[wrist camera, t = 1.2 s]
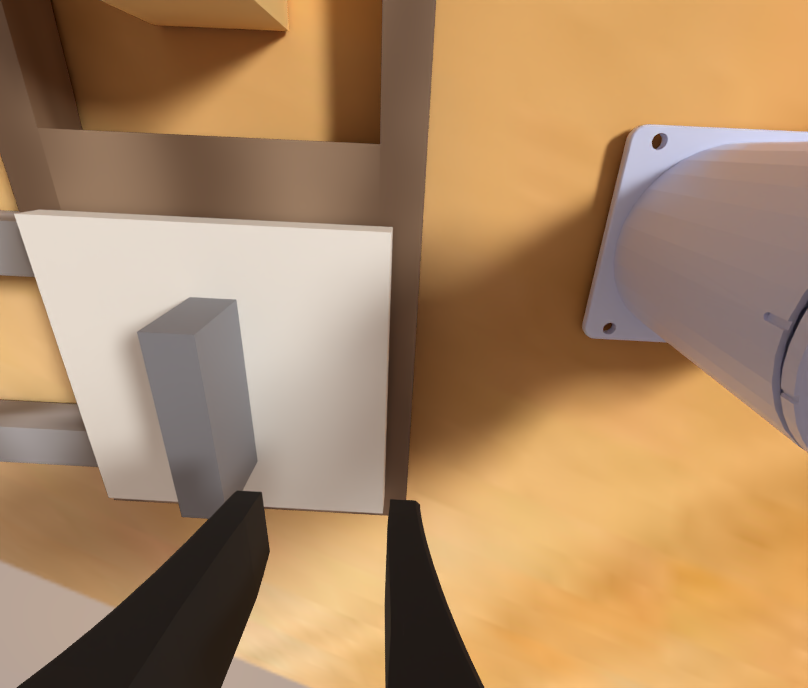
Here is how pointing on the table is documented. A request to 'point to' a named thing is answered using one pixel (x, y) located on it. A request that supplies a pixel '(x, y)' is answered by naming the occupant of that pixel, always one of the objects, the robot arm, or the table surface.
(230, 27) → the ochre block
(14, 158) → the brown flat frame
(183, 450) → the slide cover
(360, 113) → the table surface
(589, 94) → the table surface
